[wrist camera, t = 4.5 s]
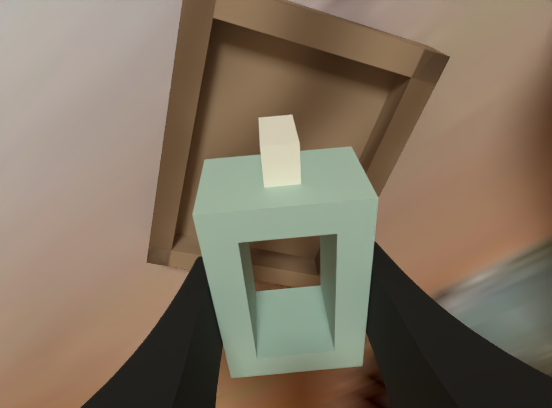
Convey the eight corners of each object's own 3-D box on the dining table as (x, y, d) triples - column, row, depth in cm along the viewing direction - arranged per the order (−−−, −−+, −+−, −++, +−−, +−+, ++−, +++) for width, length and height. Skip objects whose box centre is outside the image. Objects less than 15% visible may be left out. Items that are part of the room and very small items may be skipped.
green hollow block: (344, 300, 16) (362, 365, 13) (233, 310, 16) (231, 378, 13) (352, 109, 11) (382, 154, 9) (197, 122, 11) (182, 172, 9)
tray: (430, 46, 18) (450, 57, 16) (324, 269, 25) (329, 293, 23) (193, -30, 15) (186, -28, 14) (154, 239, 23) (146, 262, 21)
